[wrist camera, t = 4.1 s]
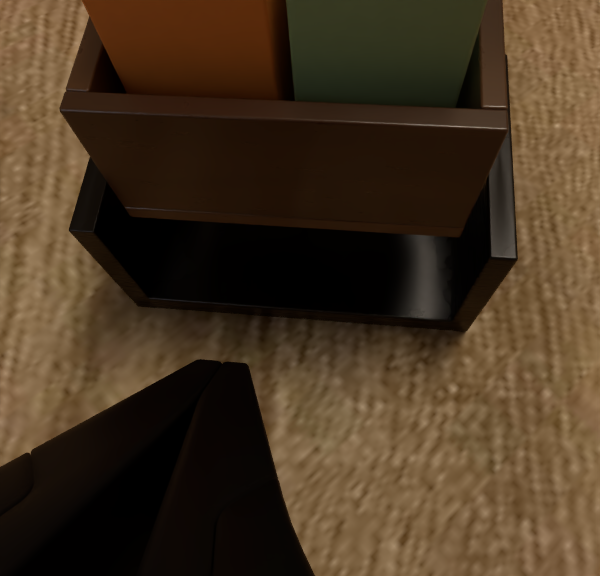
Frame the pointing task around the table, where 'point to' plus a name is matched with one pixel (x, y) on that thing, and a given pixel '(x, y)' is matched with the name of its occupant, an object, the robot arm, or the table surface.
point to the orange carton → (198, 47)
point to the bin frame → (307, 261)
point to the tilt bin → (295, 150)
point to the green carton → (382, 50)
